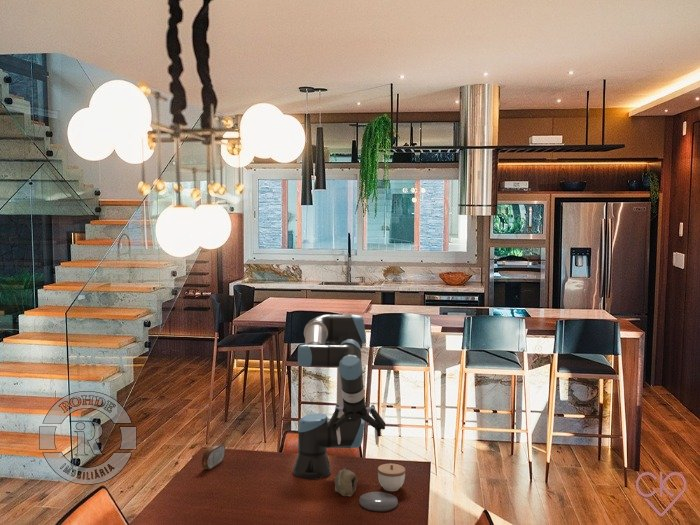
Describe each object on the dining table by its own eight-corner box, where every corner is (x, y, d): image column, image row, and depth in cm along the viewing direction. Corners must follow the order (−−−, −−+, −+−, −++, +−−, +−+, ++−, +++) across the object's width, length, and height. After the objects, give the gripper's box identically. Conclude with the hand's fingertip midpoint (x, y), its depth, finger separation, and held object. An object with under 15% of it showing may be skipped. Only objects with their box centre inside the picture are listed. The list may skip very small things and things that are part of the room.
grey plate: (351, 501, 240) (351, 498, 240) (378, 491, 249) (378, 488, 249) (378, 514, 230) (378, 511, 230) (405, 503, 239) (405, 500, 239)
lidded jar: (403, 495, 247) (403, 470, 246) (375, 492, 249) (375, 468, 248) (406, 484, 257) (407, 460, 257) (379, 481, 260) (380, 458, 259)
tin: (220, 459, 280) (220, 440, 279) (226, 460, 279) (226, 441, 278) (200, 471, 266) (200, 451, 265) (207, 472, 265) (207, 452, 264)
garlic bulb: (339, 503, 244) (332, 481, 241) (335, 490, 252) (328, 469, 249) (363, 494, 245) (356, 472, 242) (358, 482, 253) (351, 460, 250)
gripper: (316, 404, 223) (322, 449, 233) (389, 404, 219) (392, 450, 230) (319, 389, 229) (325, 433, 240) (390, 389, 226) (393, 434, 236)
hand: (358, 441), depth 235 cm, fingers open, 13 cm apart
